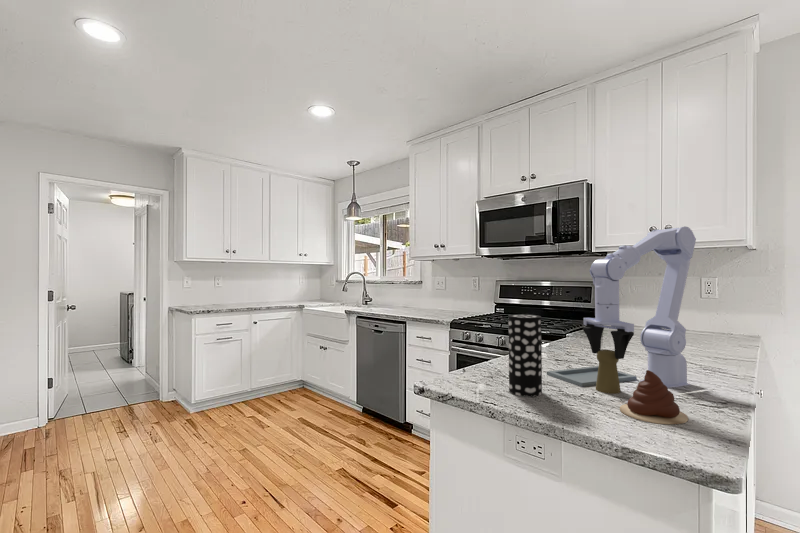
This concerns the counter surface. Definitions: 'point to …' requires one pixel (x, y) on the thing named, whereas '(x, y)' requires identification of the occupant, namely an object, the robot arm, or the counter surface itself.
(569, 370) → the tray
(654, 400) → the poop emoji
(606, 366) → the pepper shaker
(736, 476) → the counter surface
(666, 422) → the cork coaster
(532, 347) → the spotted tube
